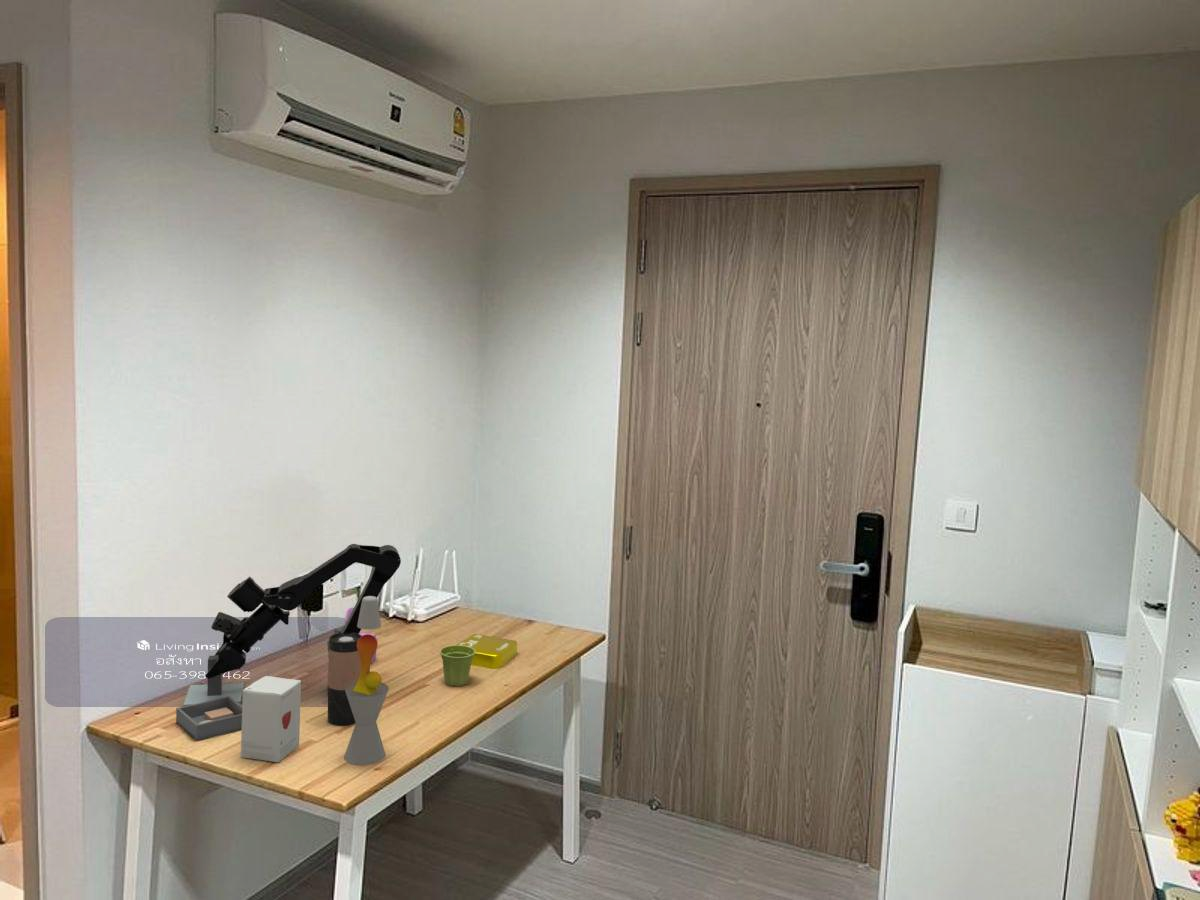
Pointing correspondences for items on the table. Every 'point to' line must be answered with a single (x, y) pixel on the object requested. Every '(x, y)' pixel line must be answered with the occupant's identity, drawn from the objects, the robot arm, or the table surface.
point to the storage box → (210, 718)
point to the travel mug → (342, 676)
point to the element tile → (490, 650)
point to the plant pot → (457, 664)
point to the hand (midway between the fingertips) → (208, 670)
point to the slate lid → (213, 688)
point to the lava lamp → (366, 693)
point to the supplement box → (270, 718)
